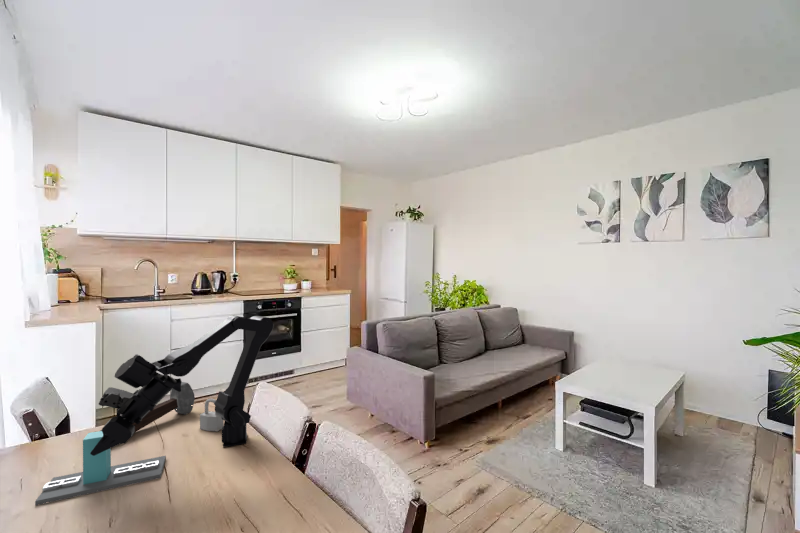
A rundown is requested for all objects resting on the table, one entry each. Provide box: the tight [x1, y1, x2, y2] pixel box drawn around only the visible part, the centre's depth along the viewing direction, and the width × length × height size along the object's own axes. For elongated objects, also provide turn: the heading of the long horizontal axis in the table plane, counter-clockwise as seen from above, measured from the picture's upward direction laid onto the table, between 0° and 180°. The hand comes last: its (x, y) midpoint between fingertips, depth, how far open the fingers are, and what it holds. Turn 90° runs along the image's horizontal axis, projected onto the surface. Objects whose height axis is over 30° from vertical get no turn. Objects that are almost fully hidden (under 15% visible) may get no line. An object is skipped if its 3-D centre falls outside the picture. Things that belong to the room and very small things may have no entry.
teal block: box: [82, 430, 112, 485], centre depth 92 cm, size 4×4×11 cm
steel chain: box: [41, 460, 159, 493], centre depth 92 cm, size 23×2×1 cm, turn 116°
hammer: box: [99, 381, 196, 434], centre depth 122 cm, size 5×11×30 cm
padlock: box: [199, 398, 225, 432], centre depth 121 cm, size 7×4×10 cm, turn 75°
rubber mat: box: [34, 455, 167, 506], centre depth 93 cm, size 24×10×1 cm, turn 116°
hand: (98, 445), depth 92 cm, fingers open, 9 cm apart
